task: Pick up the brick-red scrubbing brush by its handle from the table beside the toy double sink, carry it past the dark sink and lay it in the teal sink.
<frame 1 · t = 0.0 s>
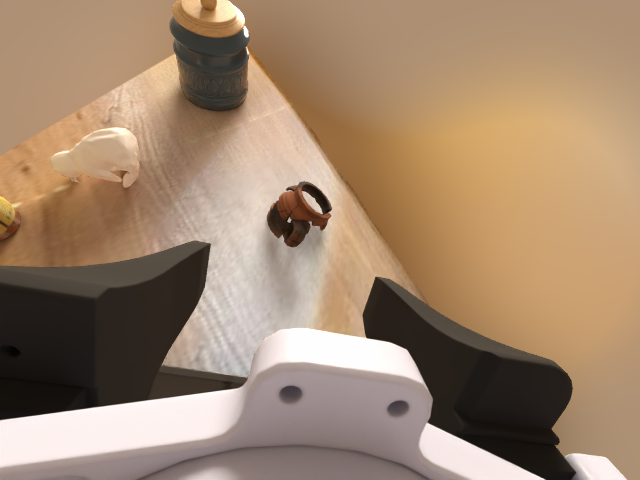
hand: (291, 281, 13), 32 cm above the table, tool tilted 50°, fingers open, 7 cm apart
canister: (215, 91, 63), on the table
penguin figurine: (106, 175, 49), on the table
brown openwork arch: (295, 227, 52), on the table
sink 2: (195, 426, 36), on the table
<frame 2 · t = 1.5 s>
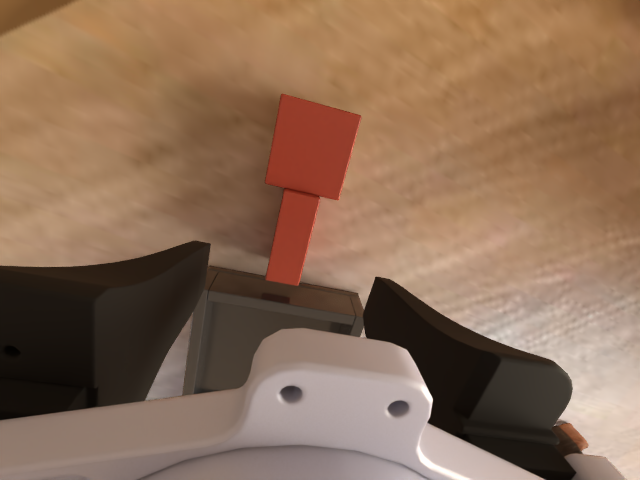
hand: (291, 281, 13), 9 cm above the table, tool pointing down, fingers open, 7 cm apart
brown openwork arch: (530, 450, 33), on the table
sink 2: (268, 356, 26), on the table
brush: (298, 198, 21), on the table
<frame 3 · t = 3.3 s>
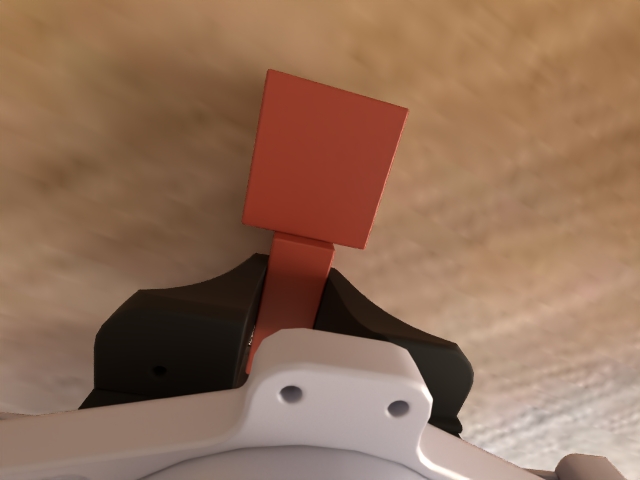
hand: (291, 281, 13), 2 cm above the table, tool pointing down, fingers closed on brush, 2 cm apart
brush: (298, 236, 14), on the table, touching gripper
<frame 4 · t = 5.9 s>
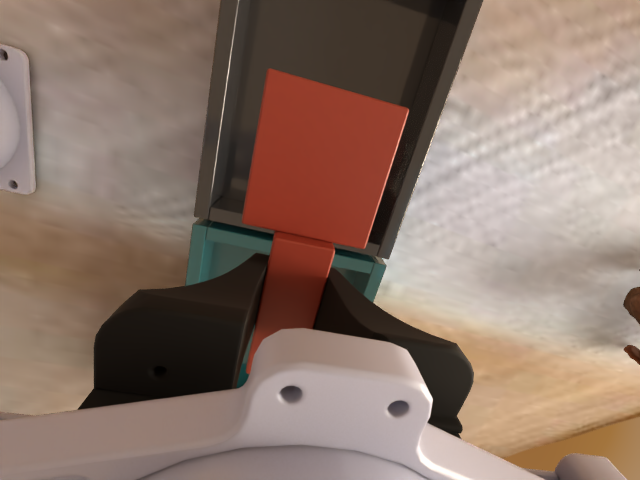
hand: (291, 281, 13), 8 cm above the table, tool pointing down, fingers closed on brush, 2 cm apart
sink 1: (272, 318, 23), on the table
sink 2: (324, 105, 18), on the table
brush: (298, 236, 14), point 7 cm above the table, touching gripper
when the fingers open (2 cm above the table, at t = 8.4 s): brush stays where it is, resting on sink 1.
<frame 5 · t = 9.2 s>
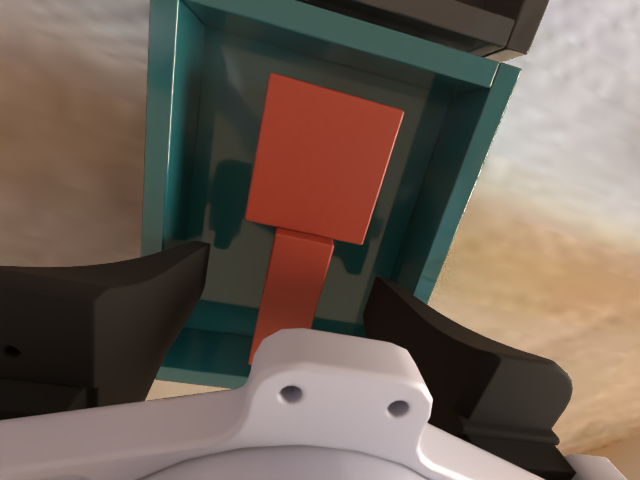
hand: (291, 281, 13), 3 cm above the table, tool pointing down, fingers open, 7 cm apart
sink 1: (300, 219, 15), on the table
brush: (299, 233, 14), point 1 cm above the table, touching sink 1
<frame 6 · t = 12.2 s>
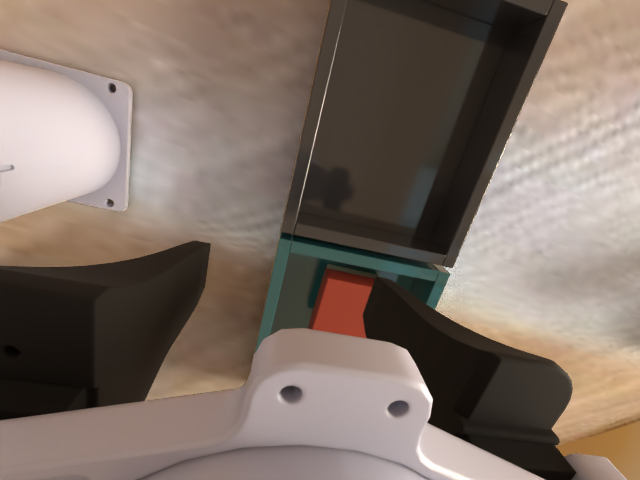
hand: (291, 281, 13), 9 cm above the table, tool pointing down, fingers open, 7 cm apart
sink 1: (332, 322, 25), on the table
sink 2: (393, 127, 20), on the table
brush: (332, 331, 25), point 1 cm above the table, touching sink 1
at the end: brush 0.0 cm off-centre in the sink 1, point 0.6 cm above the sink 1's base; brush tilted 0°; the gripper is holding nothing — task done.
